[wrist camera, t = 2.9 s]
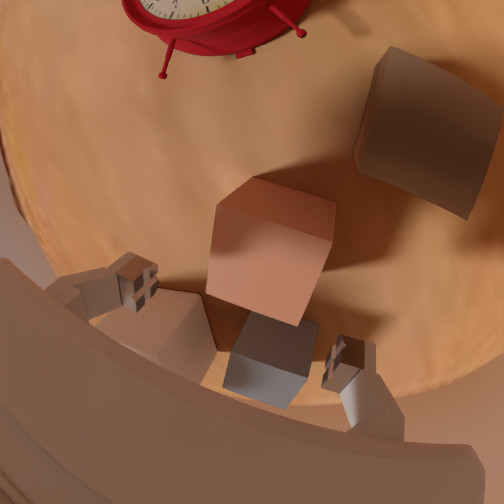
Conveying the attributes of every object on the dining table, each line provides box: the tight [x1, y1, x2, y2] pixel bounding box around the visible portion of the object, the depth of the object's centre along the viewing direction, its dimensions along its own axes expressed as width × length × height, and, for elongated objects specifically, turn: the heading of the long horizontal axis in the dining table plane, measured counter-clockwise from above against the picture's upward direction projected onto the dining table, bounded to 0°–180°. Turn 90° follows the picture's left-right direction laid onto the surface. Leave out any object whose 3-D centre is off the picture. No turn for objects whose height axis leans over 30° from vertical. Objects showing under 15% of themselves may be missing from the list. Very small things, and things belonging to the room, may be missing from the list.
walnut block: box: [352, 46, 504, 220], centre depth 9 cm, size 5×5×5 cm
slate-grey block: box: [222, 311, 319, 409], centre depth 19 cm, size 5×5×5 cm
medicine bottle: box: [95, 288, 217, 385], centre depth 19 cm, size 7×7×12 cm
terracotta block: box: [206, 177, 336, 327], centre depth 14 cm, size 5×5×5 cm
